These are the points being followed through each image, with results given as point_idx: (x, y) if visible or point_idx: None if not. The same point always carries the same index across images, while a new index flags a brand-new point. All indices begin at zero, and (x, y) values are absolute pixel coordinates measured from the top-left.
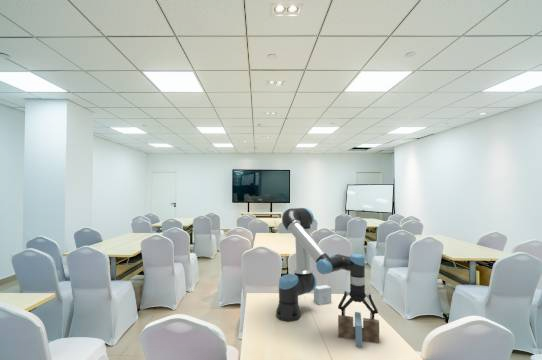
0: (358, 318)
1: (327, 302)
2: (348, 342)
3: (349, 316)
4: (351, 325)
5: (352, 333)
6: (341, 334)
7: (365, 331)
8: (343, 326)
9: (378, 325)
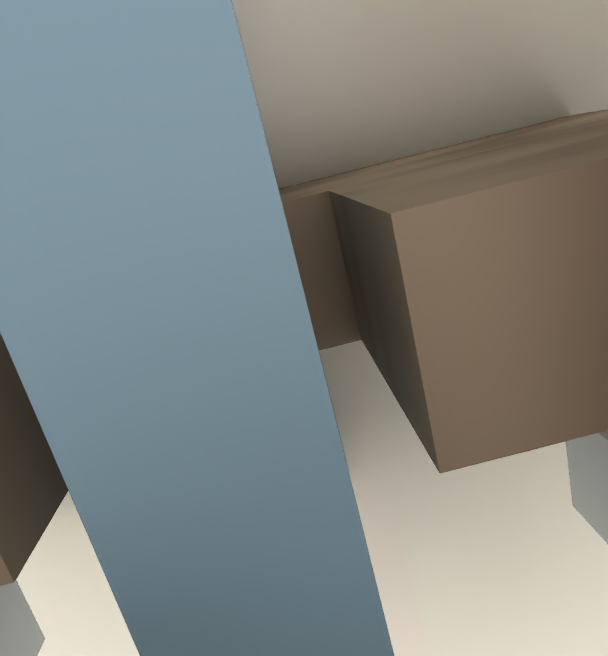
0: (177, 428)
1: None
2: (363, 10)
3: (590, 418)
4: (396, 182)
5: (334, 182)
6: (542, 126)
7: None
8: (605, 123)
9: None
